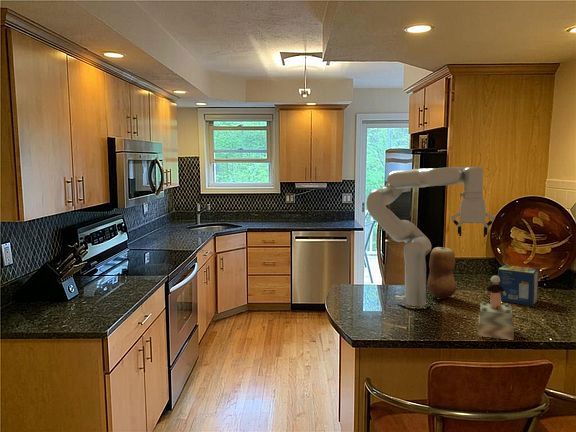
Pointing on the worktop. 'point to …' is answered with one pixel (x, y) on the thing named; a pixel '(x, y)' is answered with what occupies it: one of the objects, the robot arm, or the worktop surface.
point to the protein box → (519, 284)
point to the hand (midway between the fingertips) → (472, 236)
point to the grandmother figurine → (495, 292)
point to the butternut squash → (441, 272)
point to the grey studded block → (496, 321)
